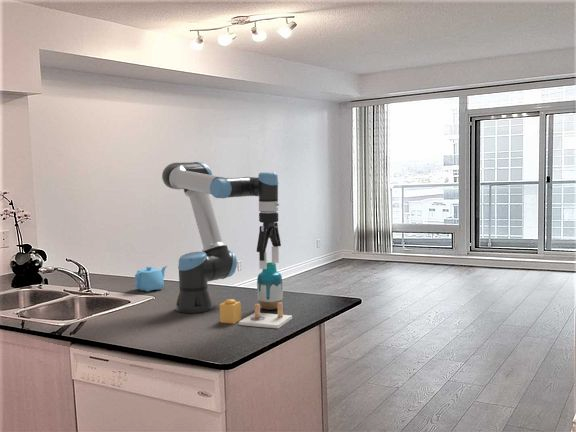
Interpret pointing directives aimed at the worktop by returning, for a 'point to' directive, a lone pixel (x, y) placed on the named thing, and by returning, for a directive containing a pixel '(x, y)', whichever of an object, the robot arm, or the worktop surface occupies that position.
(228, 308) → the yellow toy brick
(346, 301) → the worktop surface
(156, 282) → the teapot
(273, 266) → the vase
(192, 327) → the worktop surface
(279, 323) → the plate
